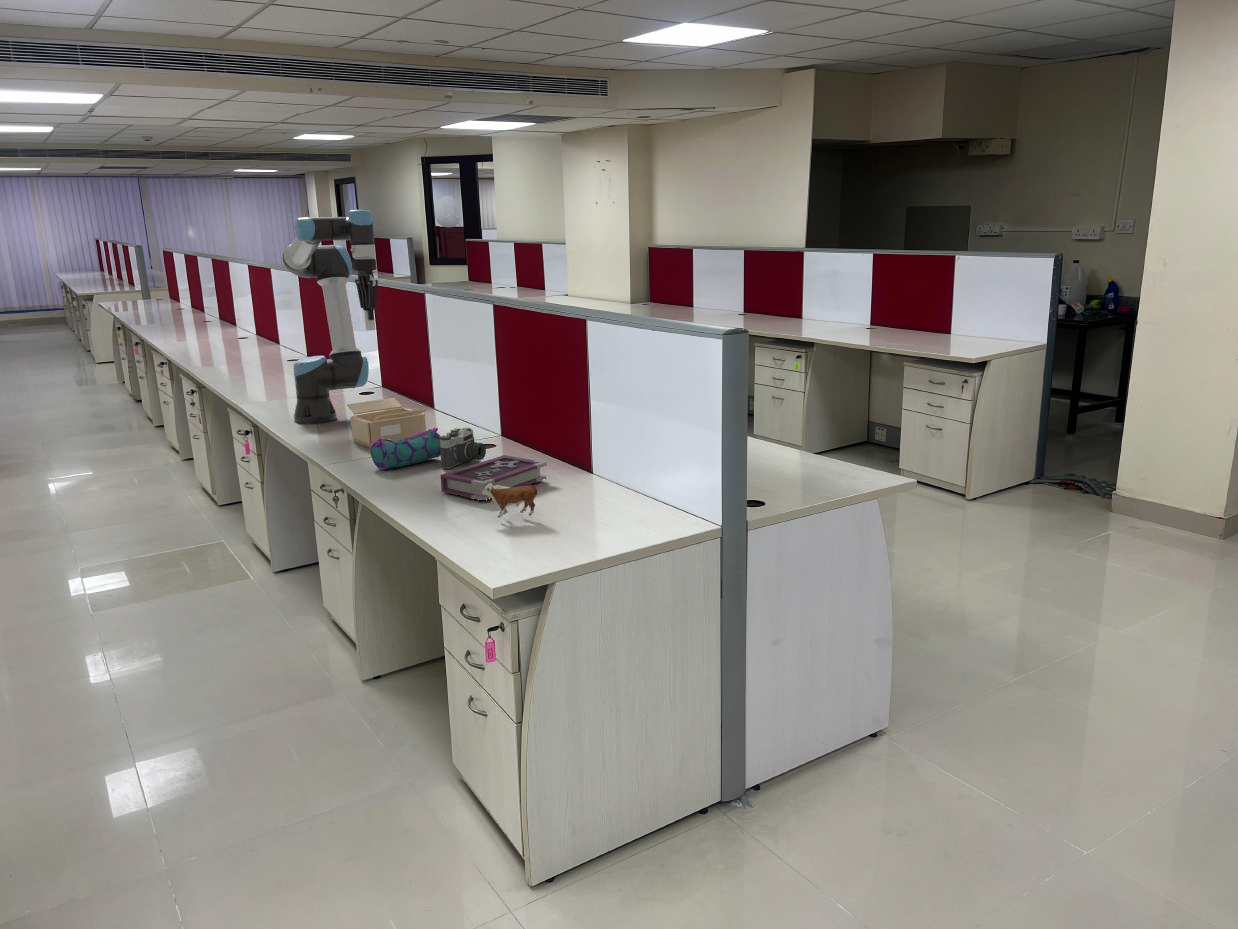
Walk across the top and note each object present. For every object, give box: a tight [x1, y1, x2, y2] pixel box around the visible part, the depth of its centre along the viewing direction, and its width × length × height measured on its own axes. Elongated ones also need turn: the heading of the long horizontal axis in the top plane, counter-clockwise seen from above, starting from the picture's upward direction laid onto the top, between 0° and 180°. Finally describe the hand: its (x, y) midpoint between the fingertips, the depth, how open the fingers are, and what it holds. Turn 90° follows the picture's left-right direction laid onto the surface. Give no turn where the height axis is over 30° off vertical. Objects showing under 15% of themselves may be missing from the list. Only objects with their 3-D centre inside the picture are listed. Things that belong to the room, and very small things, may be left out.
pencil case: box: [370, 427, 442, 471], centre depth 268 cm, size 21×9×10 cm, turn 136°
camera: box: [440, 426, 487, 469], centre depth 268 cm, size 16×10×10 cm, turn 159°
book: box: [440, 454, 548, 501], centre depth 245 cm, size 25×16×5 cm, turn 144°
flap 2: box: [373, 407, 430, 421], centre depth 288 cm, size 1×17×6 cm
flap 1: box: [346, 397, 403, 416], centre depth 303 cm, size 1×17×6 cm
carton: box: [350, 407, 427, 450], centre depth 297 cm, size 15×21×9 cm
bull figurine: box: [482, 483, 538, 519], centre depth 217 cm, size 4×13×8 cm, turn 95°
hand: (370, 329), depth 299 cm, fingers closed
